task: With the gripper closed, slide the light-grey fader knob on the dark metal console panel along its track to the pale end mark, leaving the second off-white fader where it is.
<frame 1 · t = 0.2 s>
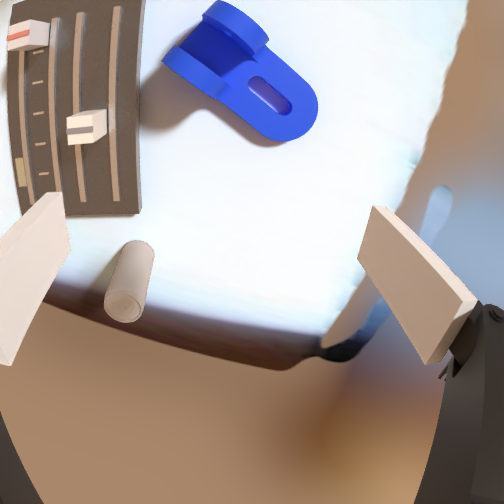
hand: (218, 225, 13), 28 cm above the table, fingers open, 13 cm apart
console: (71, 99, 32), on the table
beverage can: (139, 251, 44), on the table
fader a: (28, 35, 22), point 5 cm above the table, slide at 0.0 cm
bracket: (249, 80, 34), on the table
fader b: (87, 126, 30), point 5 cm above the table, slide at 12.0 cm
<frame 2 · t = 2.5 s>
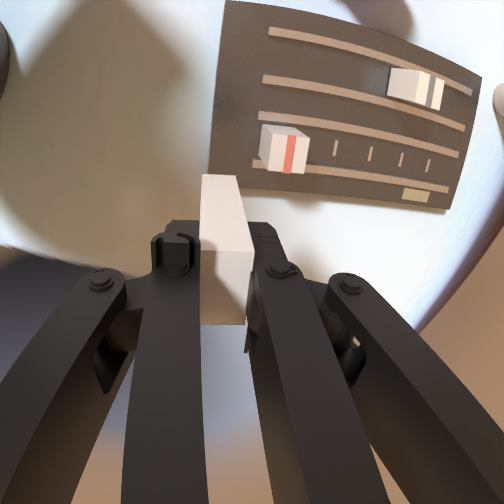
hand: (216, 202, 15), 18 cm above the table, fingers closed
console: (360, 111, 30), on the table
beverage can: (500, 99, 30), on the table
fader a: (282, 147, 26), point 5 cm above the table, slide at 0.0 cm
fader b: (415, 87, 24), point 5 cm above the table, slide at 12.0 cm
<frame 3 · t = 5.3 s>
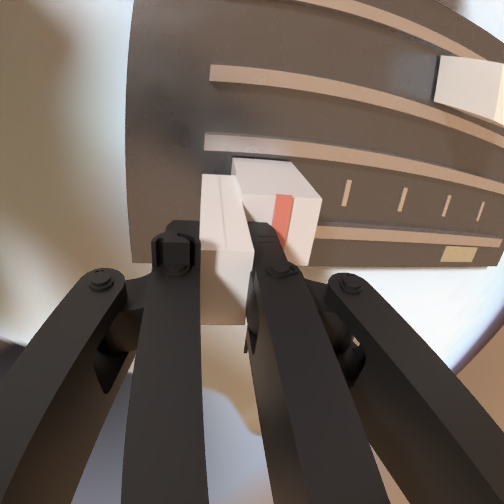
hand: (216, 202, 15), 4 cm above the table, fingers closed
console: (387, 127, 18), on the table
fader a: (267, 206, 14), point 5 cm above the table, slide at 1.0 cm, touching gripper
fader b: (483, 92, 12), point 5 cm above the table, slide at 12.0 cm
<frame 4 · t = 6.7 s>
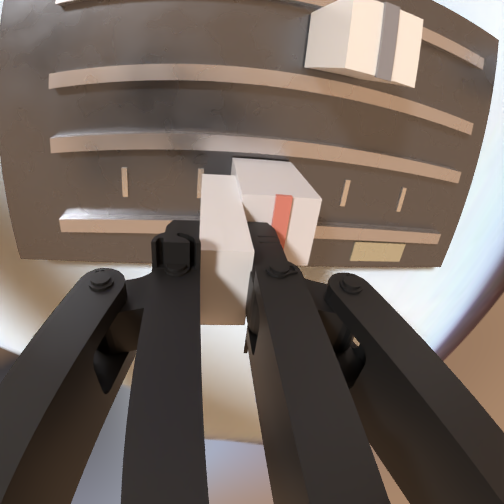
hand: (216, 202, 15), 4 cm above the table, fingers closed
console: (260, 106, 16), on the table
fader a: (267, 207, 14), point 5 cm above the table, slide at 9.0 cm, touching gripper
fader b: (358, 43, 11), point 5 cm above the table, slide at 12.0 cm
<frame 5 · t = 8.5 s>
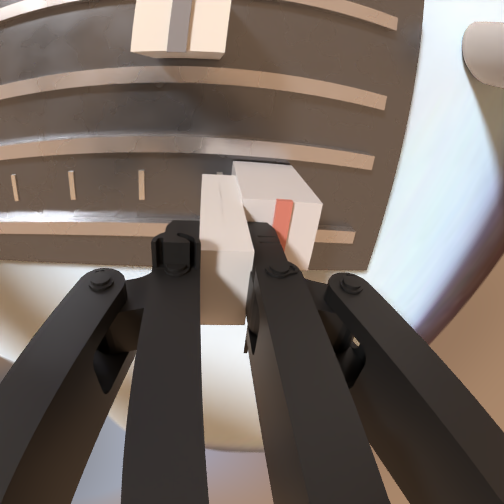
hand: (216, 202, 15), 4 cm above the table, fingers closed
console: (132, 104, 15), on the table
beverage can: (478, 52, 15), on the table
fader a: (267, 210, 14), point 5 cm above the table, slide at 16.1 cm, touching gripper
fader b: (186, 20, 10), point 5 cm above the table, slide at 12.0 cm
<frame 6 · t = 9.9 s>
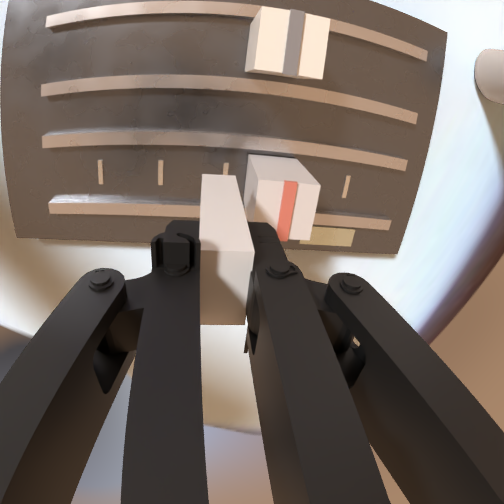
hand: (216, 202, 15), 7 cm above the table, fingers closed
console: (214, 107, 19), on the table
beverage can: (487, 74, 18), on the table
fader a: (277, 193, 18), point 5 cm above the table, slide at 12.8 cm
fader b: (282, 46, 13), point 5 cm above the table, slide at 12.0 cm
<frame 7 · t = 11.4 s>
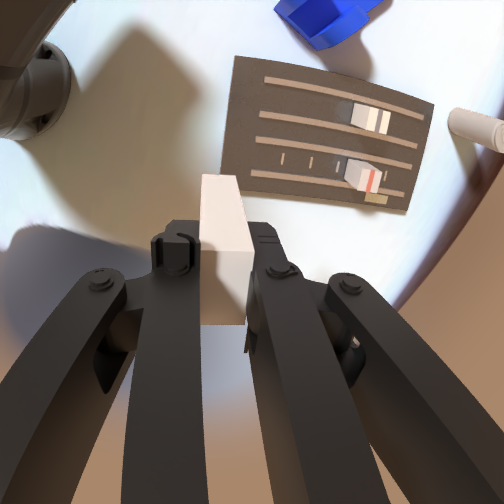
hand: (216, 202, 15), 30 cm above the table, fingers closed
console: (331, 135, 43), on the table
beverage can: (455, 120, 42), on the table
fader a: (362, 175, 41), point 5 cm above the table, slide at 12.8 cm
fader b: (370, 118, 37), point 5 cm above the table, slide at 12.0 cm
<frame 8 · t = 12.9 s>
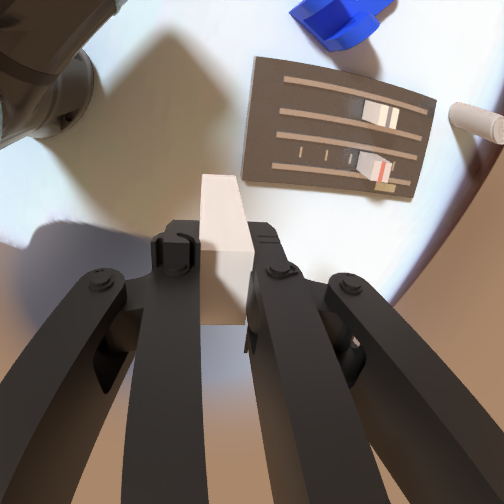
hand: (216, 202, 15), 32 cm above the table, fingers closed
console: (344, 130, 45), on the table
beverage can: (455, 113, 45), on the table
fader a: (373, 166, 44), point 5 cm above the table, slide at 12.8 cm
fader b: (380, 114, 40), point 5 cm above the table, slide at 12.0 cm
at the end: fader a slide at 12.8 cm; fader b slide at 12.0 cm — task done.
